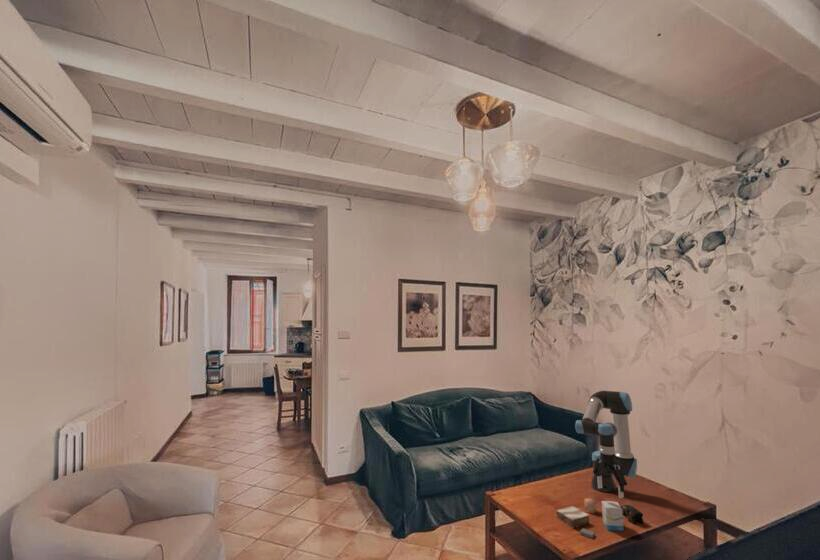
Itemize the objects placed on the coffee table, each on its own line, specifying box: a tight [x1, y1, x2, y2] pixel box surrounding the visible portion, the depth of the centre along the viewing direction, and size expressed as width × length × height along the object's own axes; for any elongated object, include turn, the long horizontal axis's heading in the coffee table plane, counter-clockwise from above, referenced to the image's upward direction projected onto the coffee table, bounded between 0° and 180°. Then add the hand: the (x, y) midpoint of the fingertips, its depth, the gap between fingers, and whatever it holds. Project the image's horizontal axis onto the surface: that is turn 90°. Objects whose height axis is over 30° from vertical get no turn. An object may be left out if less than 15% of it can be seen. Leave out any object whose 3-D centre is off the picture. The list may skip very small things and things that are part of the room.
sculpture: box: [620, 504, 644, 525], centre depth 220 cm, size 13×6×7 cm, turn 12°
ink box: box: [601, 500, 625, 532], centre depth 213 cm, size 8×8×12 cm
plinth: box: [556, 505, 590, 529], centre depth 220 cm, size 12×12×4 cm
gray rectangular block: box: [579, 528, 596, 539], centre depth 205 cm, size 6×4×2 cm, turn 45°
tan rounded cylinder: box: [584, 497, 597, 514], centre depth 230 cm, size 6×6×6 cm
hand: (610, 492), depth 214 cm, fingers open, 13 cm apart
